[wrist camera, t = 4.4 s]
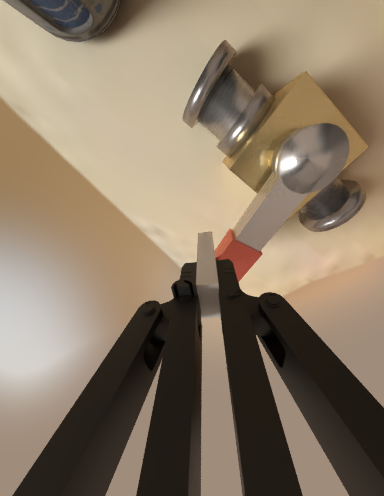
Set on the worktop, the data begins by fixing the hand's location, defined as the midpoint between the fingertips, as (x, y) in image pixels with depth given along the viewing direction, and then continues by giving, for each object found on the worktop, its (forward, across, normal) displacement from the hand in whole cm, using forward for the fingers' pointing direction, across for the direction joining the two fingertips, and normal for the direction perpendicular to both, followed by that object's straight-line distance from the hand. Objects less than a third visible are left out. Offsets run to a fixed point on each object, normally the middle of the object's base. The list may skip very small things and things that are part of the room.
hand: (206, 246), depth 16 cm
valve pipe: (+8, +8, +6) cm, 13 cm away
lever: (+1, +5, +2) cm, 5 cm away
